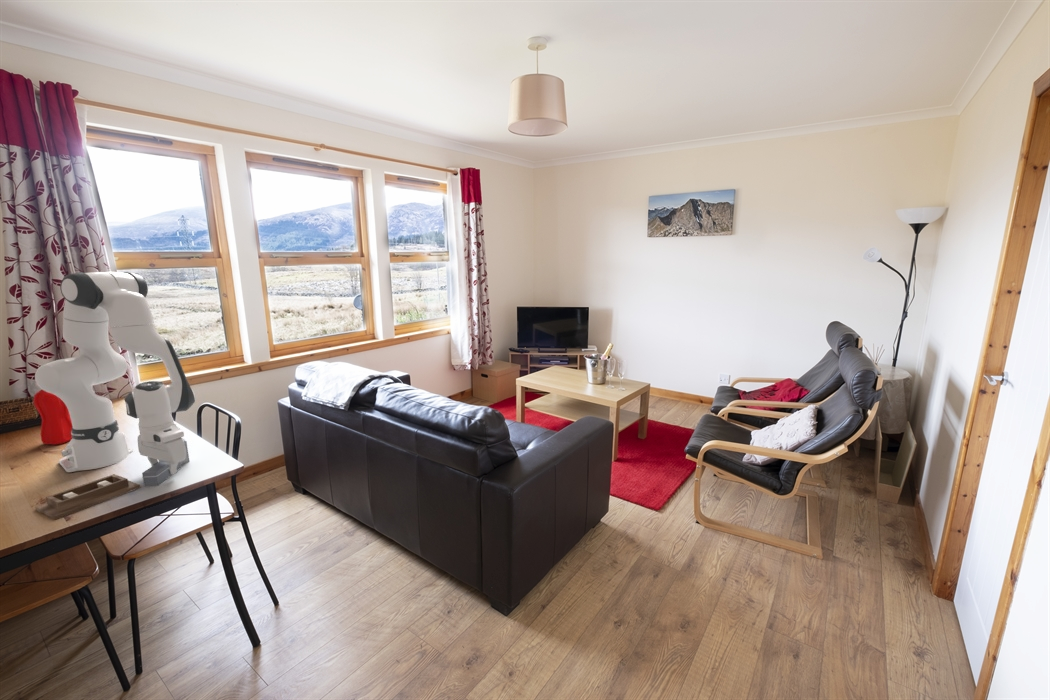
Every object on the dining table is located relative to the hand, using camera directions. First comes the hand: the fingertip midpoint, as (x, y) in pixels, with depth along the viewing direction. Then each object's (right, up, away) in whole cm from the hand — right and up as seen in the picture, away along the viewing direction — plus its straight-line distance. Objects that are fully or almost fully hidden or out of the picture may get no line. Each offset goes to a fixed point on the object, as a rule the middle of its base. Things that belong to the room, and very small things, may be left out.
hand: (164, 470), depth 149 cm
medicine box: (-4, -1, +9) cm, 10 cm away
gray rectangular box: (0, -3, 0) cm, 3 cm away
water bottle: (-68, +3, +33) cm, 75 cm away
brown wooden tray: (-12, -5, -13) cm, 18 cm away
